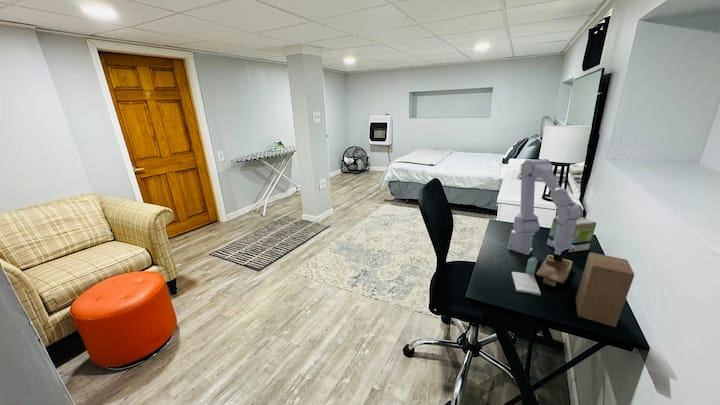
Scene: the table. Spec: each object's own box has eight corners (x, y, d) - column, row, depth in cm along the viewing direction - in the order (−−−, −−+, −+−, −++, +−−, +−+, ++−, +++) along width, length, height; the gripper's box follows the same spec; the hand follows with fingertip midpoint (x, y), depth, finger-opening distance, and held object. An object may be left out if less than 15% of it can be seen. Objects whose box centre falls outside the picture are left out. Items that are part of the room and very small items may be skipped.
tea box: (564, 254, 133) (571, 225, 128) (546, 244, 143) (552, 217, 138) (589, 250, 137) (597, 221, 132) (570, 240, 146) (577, 214, 141)
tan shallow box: (535, 279, 115) (537, 272, 114) (546, 261, 128) (548, 254, 127) (562, 289, 109) (564, 281, 108) (570, 268, 122) (572, 261, 121)
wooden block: (616, 328, 90) (635, 274, 84) (577, 316, 95) (592, 265, 89) (610, 309, 98) (627, 259, 92) (575, 299, 103) (589, 251, 97)
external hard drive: (533, 278, 117) (540, 296, 106) (511, 274, 120) (516, 292, 109) (534, 274, 117) (541, 293, 106) (511, 271, 119) (516, 289, 108)
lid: (536, 274, 112) (537, 268, 111) (543, 262, 121) (544, 256, 120) (563, 283, 107) (564, 277, 106) (569, 270, 115) (570, 264, 114)
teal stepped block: (524, 273, 119) (527, 259, 117) (527, 269, 122) (530, 255, 120) (532, 276, 117) (536, 262, 115) (535, 272, 120) (538, 258, 118)
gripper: (573, 243, 105) (565, 274, 110) (579, 230, 115) (571, 259, 120) (551, 237, 110) (544, 267, 114) (558, 225, 120) (552, 253, 124)
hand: (556, 263), depth 117 cm, fingers closed
